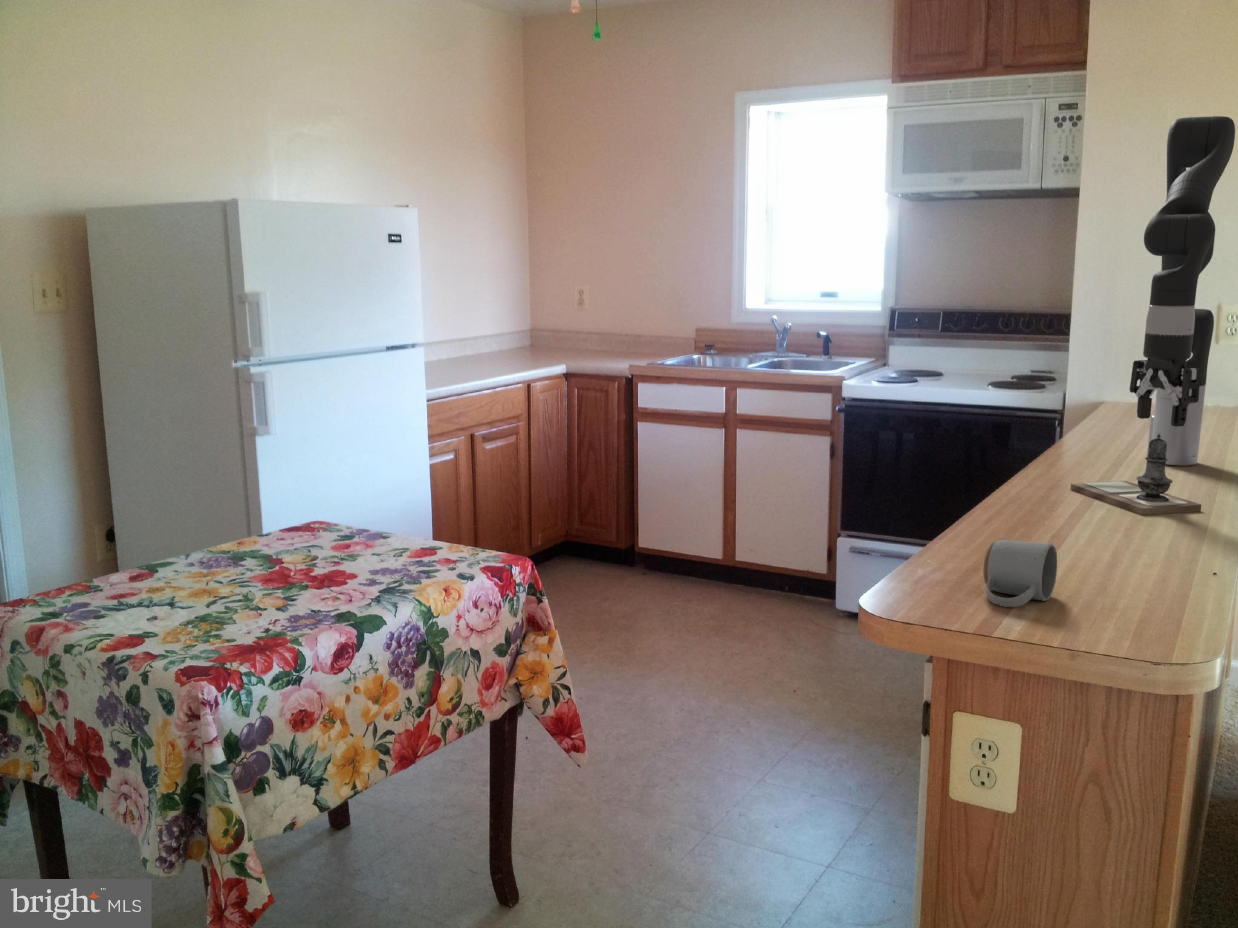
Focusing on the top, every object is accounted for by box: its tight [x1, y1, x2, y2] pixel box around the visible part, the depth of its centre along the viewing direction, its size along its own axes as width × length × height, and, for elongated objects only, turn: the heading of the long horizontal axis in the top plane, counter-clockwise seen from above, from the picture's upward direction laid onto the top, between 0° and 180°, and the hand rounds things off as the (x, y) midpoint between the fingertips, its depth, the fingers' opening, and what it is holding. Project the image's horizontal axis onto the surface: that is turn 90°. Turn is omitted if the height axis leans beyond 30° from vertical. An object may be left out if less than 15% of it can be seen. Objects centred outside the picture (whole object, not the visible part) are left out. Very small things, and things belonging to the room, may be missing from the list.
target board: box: [1070, 480, 1202, 516], centre depth 191 cm, size 20×12×1 cm, turn 12°
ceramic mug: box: [982, 539, 1058, 608], centre depth 138 cm, size 11×8×8 cm
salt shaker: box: [1135, 434, 1174, 502], centre depth 185 cm, size 6×6×12 cm
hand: (1160, 422), depth 183 cm, fingers open, 8 cm apart
